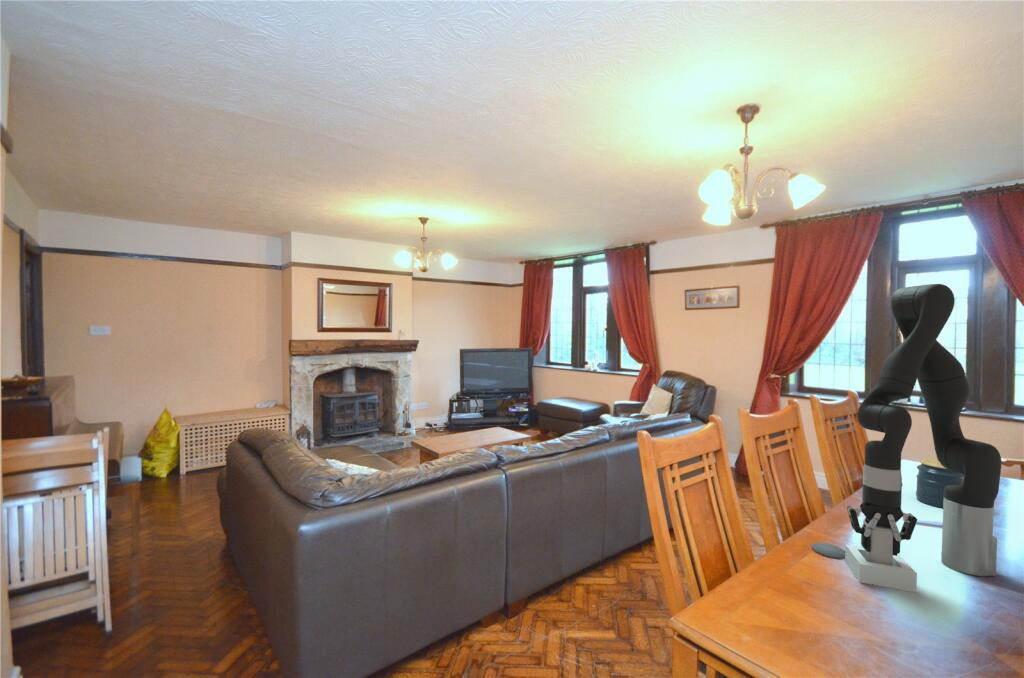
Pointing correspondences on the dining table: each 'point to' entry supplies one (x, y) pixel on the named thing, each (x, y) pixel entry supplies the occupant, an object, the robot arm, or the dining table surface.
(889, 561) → the beverage can
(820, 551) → the coaster
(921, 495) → the canister
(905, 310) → the robot arm
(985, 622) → the dining table surface
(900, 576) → the pocket block
